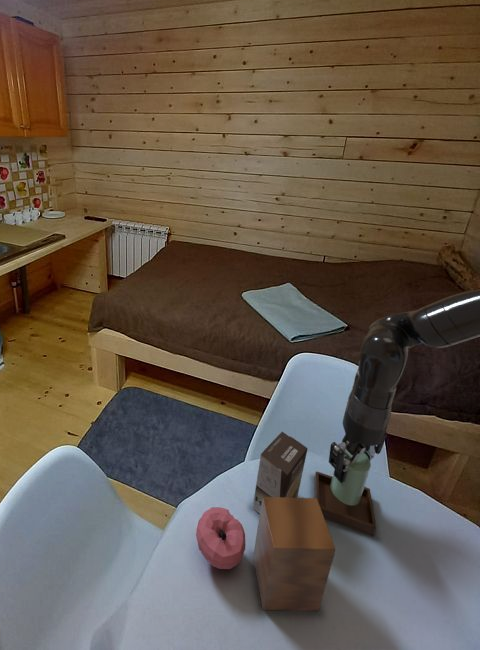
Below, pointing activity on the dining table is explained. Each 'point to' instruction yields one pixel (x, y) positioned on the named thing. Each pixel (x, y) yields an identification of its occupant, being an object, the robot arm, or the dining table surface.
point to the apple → (220, 538)
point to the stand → (292, 554)
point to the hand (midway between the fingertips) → (350, 473)
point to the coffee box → (280, 469)
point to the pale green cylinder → (352, 481)
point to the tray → (344, 506)
